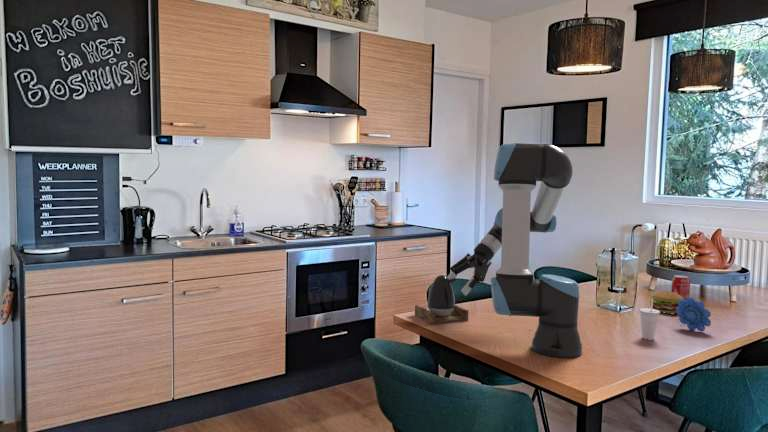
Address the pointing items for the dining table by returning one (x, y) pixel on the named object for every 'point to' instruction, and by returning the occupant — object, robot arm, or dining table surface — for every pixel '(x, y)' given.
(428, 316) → the track
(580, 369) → the dining table surface
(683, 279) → the soda can
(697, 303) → the blue gear
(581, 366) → the dining table surface
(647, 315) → the smoothie
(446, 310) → the pump dispenser
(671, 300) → the food
